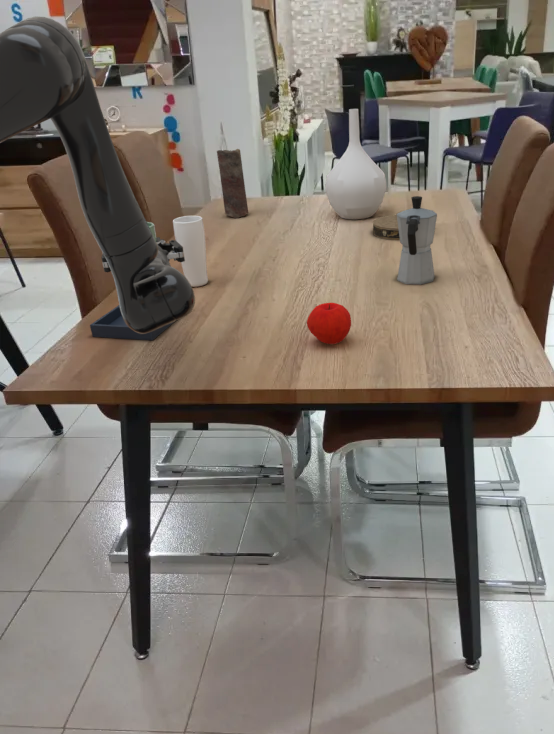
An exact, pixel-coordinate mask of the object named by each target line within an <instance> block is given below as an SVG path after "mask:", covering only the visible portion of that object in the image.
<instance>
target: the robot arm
mask: <svg viewBox="0 0 554 734" xmlns="http://www.w3.org/2000/svg"><path fill="white" fill-rule="evenodd" d="M96 91H97V90H96V88H95V84H94V80H93V77H92V73H91V71H90V68H89V65H88V62H87V59H86V56H85V53H84V50H83V48H82V47H81V44H80V43H79V41H78V40H77V39H76V37H75V35H73V33H72V32H71V31H70V29H68V28H67V27H65V26H64V25H63V24H62V23H60V22H59V21H57V20H54V19H52V18H49V17H46V16H33V17H32V16H31V17H28V18H25V19H22V20H21V21H19V22H17V23H15V24H13V25H12V26H10V27H8V28H6V29H4V30H3V31H1V32H0V144H1V143H4V142H5V141H7V140H9V139H11V138H13V137H15V136H16V135H18V134H20V133H22V132H25V131H27V130H29V129H31V128H33V127H35V126H37V125H39V124H42V123H44V122H46V121H48V120H51V123H52V124H53V125H54V127H55V129H56V132H57V134H58V135H59V137H60V139H61V143H62V144H63V147H64V149H65V153H66V156H67V157H68V162H69V164H70V168H71V171H72V176H73V180H74V184H75V187H76V192H77V193H76V194H77V197H78V200H79V205H80V208H81V211H82V213H83V217H84V219H85V221H86V223H87V226H88V228H89V230H90V232H91V234H92V235H93V238H94V239H95V241H96V243H97V245H98V247H99V249H100V251H101V252H102V254H101V262H102V263H101V264H102V267H103V272H105V273H110V272H111V275H112V278H113V281H114V285H115V289H116V296H117V300H118V305H119V306H120V310H121V314H122V317H123V319H124V321H125V323H126V324H127V326H128V327H129V328H130V329H132V330H133V331H135V332H137V333H140V334H146V333H149V332H152V331H154V330H156V329H159V328H161V327H163V326H165V325H168V324H170V323H172V322H174V321H175V322H177V321H179V320H181V319H183V318H185V317H187V316H188V315H190V314H191V313H192V312H193V310H194V308H195V305H196V295H195V291H194V287H192V286H191V284H190V283H189V281H188V280H187V278H186V277H185V276H184V273H183V272H181V271H180V270H178V269H177V268H175V267H173V266H172V265H171V263H170V260H173V261H174V262H175V261H177V263H181V262H184V261H185V258H184V252H183V247H182V246H181V245H180V244H179V243H178V242H177V241H176V240H175V239H171V240H169V242H166V240H165V239H163V238H160V237H157V236H156V238H157V242H156V241H155V239H154V237H153V234H152V232H151V230H150V228H149V226H148V224H147V222H148V221H147V220H146V218H145V215H144V213H143V211H142V209H141V208H140V207H141V206H140V205H139V203H138V201H137V198H136V197H135V195H134V192H133V190H132V188H131V186H130V184H129V181H128V179H127V176H126V174H125V171H124V169H123V167H122V164H121V161H120V159H119V156H118V154H117V151H116V149H115V146H114V143H113V140H112V137H111V134H110V132H109V129H108V125H107V122H106V120H105V117H104V114H103V111H102V109H101V104H100V101H99V98H98V95H97V92H96ZM175 322H174V323H175Z"/></svg>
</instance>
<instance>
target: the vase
mask: <svg viewBox="0 0 554 734" xmlns="http://www.w3.org/2000/svg"><path fill="white" fill-rule="evenodd" d="M348 134H349V135H348V138H349V142H348V146H347V147H346V150H345V152H343V154H342V156H341V157H340V158H339V159H338V161H337V163H336V164H335V165H334V166H333V167H332V169H331V170H330V171H329V172H328V173H327V175H326V178H325V182H324V183H325V184H324V187H325V194H326V197H327V200H328V203H329V205H330V207H331V208H332V210H333V211H334V212H335V213H336V214H337V215H338V216H339V217H340V218H341V219H345V220H354V221H355V220H364V219H368V218H371V217H372V216H374V215H375V214H376V212H378V210H380V209H379V208H380V207H381V205H382V203H383V201H384V197H385V195H386V192H387V179H386V174H385V172H384V171H383V170H382V169H381V167H379V165H378V164H377V163H375V161H374V160H373V159H372V158H371V157H370V155H368V153H367V152H366V150H365V149H364V148H363V146H362V145H361V140H360V116H359V108H350V109H348Z"/></svg>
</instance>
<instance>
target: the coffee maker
mask: <svg viewBox="0 0 554 734" xmlns="http://www.w3.org/2000/svg"><path fill="white" fill-rule="evenodd" d="M410 199H411V204H412V207H410V208H408V209H405V210H402V211H399V212H397V213H395V215H397V221H398V229H399V237H400V240H399V243H400V244H401V245H402V249H401V251H400V258H399V265H398V272H397V276H396V277H397V278H396V281H397V282H400V283H402V284H405V285H420V286H421V285H425V284H428V283H429V284H430V283H432V282H434V280H435V268H434V261H433V252H432V248H431V245H432V244H433V243H434V238H435V231H436V224H437V220H438V219H437V218H438V213H437V212H435V211H434V210H433V209H428V208H423V207H422V201H423V197H422V196H421V195H420V196H419V195H416V196H411V198H410Z"/></svg>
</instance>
